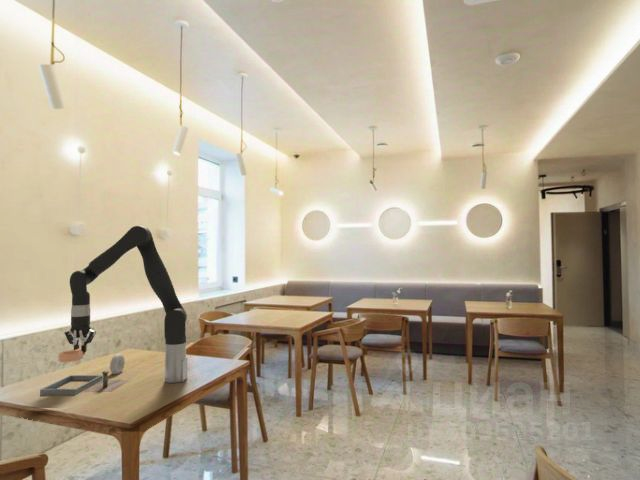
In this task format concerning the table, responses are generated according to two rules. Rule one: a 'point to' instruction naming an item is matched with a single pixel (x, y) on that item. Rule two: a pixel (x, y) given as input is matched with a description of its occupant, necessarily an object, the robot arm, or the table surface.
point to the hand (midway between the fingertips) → (80, 353)
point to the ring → (70, 355)
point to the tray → (53, 387)
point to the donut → (117, 364)
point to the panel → (106, 384)
